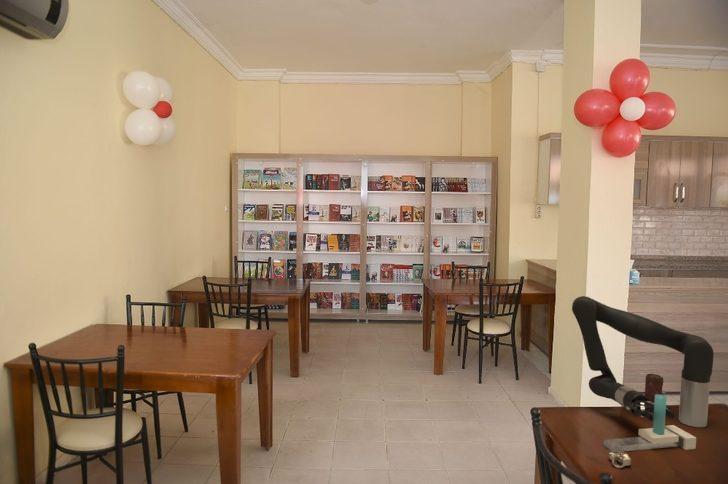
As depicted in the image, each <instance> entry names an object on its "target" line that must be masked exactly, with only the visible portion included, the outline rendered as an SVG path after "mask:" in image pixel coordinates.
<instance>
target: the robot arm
mask: <svg viewBox="0 0 728 484" xmlns="http://www.w3.org/2000/svg"><path fill="white" fill-rule="evenodd" d="M571 311H572V313H573V315H574V318H575V319H576V321H577V324H578V326H579V329H580V333H581V335H582V341H583V345H584V351H585V355H586V359H587V364H588V367H589V369H590V370H591V371H594V372H600V373H601V374H600V375H597V376H593V377H591V378H590V379H589V380H588V387H589V389H590V391H591V392H592V393H593V394H594V395H596V396H598V397H602V398H605V399H610V400H612V401H614V402H616V403H617V404H619V405H621V407H623V408H625V411H626V412H628V413H630V414H631V415H632V416H634V417H636V418H639V416H640V417H641V418H645V419H647V420H648V421H650V422H653V421H654V403H652V402H650V401H648V399H647V397H646V396H645V394H643V393H642V392H639V391H637V390H635V389H633V388H632V387H628V386H626V385H624V384H622V383H619V382H617V379H616V377H615V375H614V374H613V372H612V370H611V367H610V366H609V364H608V361H607V356H606V353H605V349H604V346H603V342H602V340H601V338H600V333H599V330H598V325H597V322H599V323H602V324H604V325H607V326H608V327H610V328H612V329H614V330H615V331H617V332H619V333H621V334H623V335H625V336H626V337H630V338H632V339H634V340H637V341H640V342H643V343H646V344H652V345H653V344H654V345H660V346H665V347H667V348H670V349H673V350H675V351H678V352H679V353H681V354H682V355H684V356H683V357H684V358H683V367H682V369H681V374H680V375H681V377H680V391H679V393H680V395H679V410H678V421H679V422H680V423H681V424H684V425H686V426H689V427H695V428H705V427H707V426H708V414H709V402H710V401H709V400H710V399H709V398H710V387H711V386H710V385H711V377H712V374H713V369H714V367H713V366H714V356H715V355H714V348H713V347H712V345H711V344H710V343H709V342H708V341H707V340H706V339H705V338H704V337H702V336H699V335H695V334H691V333H687V332H683V331H680V330H677V329H673V328H671V327H669V326H667V325H665V324H661V323H659V322H656V321H654V320H652V319H649V318H647V317H644V316H641V315H638V314H635V313H632V312H629V311H626V310H623V309H619V308H618V309H617V308H614V307H611V306H608V305H606V304H605V303H602V302H600V301H597V300H596V299H594V298H591V297H589V296H586V295H584V296H583V295H582V296H578V297H576V298H575V299H574V300H573V302H572V304H571ZM665 417H667V418H669V419H671V420H675V419H676V413H675V412H674V411H672V407H671V406H669V405H668V404H666V414H665Z"/></svg>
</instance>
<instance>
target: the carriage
mask: <svg viewBox="0 0 728 484" xmlns="http://www.w3.org/2000/svg"><path fill="white" fill-rule="evenodd" d="M667 399H668V397H667V396H666V395H663V394H662V395H659V394H657V395H655V403H654V414H653V415H654V421H652V422H653V423H652V427H649V428H638V433H637V434H638V436H639V437H643V438H645V439H646V440H648V441H649V442H651V443H652V444H657V443H669V442H678V440H679V436H678V435H676V434H674V433H673V432H671V431H669V430H667V429H666V428H665V426H666V416H665V414H666V405H667Z"/></svg>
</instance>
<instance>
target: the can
mask: <svg viewBox="0 0 728 484" xmlns="http://www.w3.org/2000/svg"><path fill="white" fill-rule="evenodd" d="M663 386H664V377H663V376H661V375H659V374H654V373H647V374H646V375H645V384H644V395H645V396H646V397H647V399H648V401H650V402H652V403H655V395H657V394H659V395H663Z"/></svg>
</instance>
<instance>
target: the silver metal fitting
mask: <svg viewBox="0 0 728 484" xmlns="http://www.w3.org/2000/svg"><path fill="white" fill-rule="evenodd" d="M608 458H609V459H610V460H611V462H612V463H611V464H612V465H613V466H614V467H615V468H616V469H622V468H625V466H631V464H632V458H631V456H629V454H628V453H627V452H626V451H624V450H622V451H620V452H612V451H610V452H608Z"/></svg>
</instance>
